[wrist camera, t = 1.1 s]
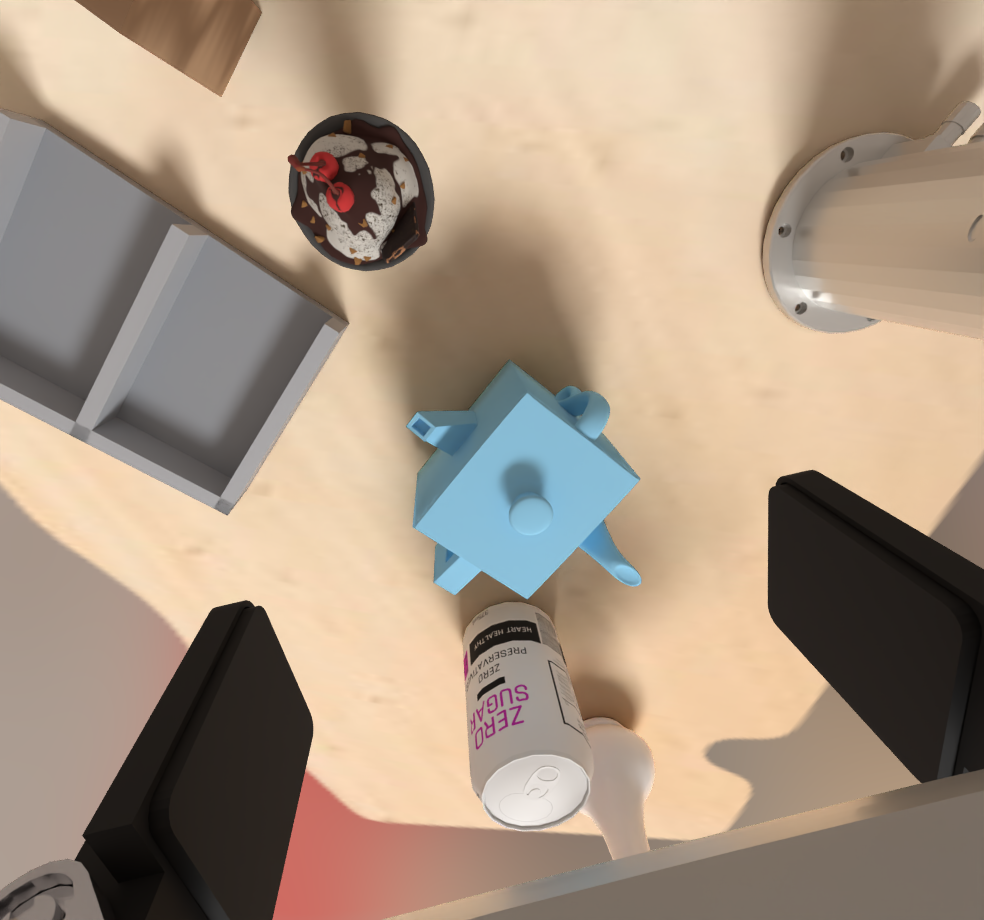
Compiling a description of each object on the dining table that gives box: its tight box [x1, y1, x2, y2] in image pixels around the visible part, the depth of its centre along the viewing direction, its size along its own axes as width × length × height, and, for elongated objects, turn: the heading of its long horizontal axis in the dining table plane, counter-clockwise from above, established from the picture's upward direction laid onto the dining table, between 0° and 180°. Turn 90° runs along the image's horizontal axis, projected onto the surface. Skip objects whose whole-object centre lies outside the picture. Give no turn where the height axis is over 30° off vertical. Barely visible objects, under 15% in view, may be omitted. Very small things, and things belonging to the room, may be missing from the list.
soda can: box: [463, 602, 594, 831], centre depth 42 cm, size 8×8×15 cm
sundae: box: [288, 112, 434, 271], centre depth 28 cm, size 7×7×15 cm
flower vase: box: [579, 717, 655, 860], centre depth 43 cm, size 13×18×25 cm
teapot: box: [406, 359, 641, 599], centre depth 37 cm, size 16×18×11 cm
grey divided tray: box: [0, 108, 349, 515], centre depth 35 cm, size 15×20×4 cm
